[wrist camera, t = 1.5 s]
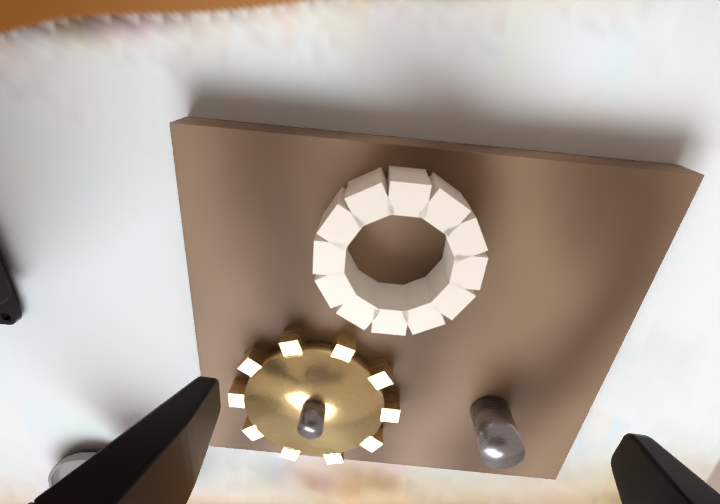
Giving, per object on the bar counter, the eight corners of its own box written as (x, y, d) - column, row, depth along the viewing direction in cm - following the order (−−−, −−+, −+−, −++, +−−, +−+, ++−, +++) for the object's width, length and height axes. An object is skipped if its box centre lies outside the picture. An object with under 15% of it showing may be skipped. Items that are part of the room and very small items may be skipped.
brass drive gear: (239, 439, 23) (225, 478, 21) (230, 319, 19) (212, 352, 17) (388, 453, 23) (389, 493, 21) (409, 336, 19) (413, 372, 17)
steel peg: (466, 421, 21) (476, 466, 19) (474, 393, 20) (486, 438, 18) (503, 424, 21) (518, 470, 19) (513, 397, 20) (530, 442, 18)
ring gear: (317, 299, 18) (310, 326, 16) (323, 159, 15) (316, 173, 13) (457, 313, 18) (466, 341, 16) (490, 175, 15) (505, 192, 13)
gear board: (218, 424, 24) (209, 445, 23) (186, 116, 16) (169, 122, 15) (545, 456, 24) (555, 479, 23) (677, 164, 16) (704, 175, 15)
